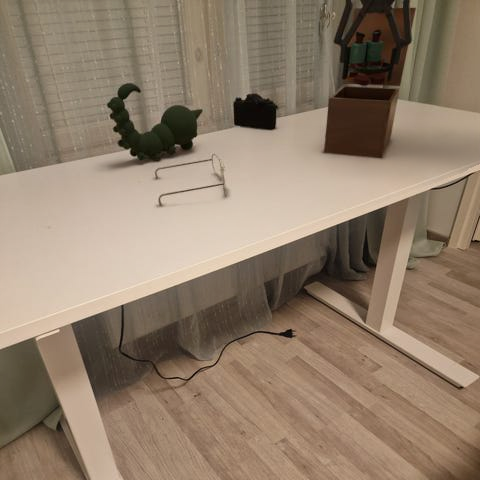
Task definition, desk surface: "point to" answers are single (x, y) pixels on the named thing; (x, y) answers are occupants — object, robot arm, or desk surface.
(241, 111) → the film camera
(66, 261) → the desk surface
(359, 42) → the binoculars
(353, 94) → the chest
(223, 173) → the eyeglasses
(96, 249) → the desk surface
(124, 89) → the toy figurine
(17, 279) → the desk surface
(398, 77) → the lid
